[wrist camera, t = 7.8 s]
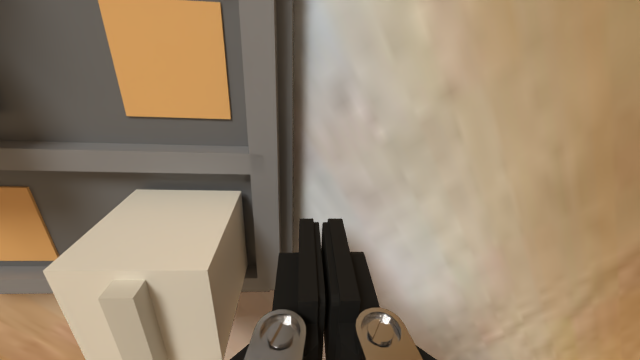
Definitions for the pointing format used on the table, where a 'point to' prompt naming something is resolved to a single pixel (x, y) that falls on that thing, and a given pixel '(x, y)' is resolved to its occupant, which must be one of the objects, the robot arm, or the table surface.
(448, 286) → the table surface
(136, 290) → the cream block
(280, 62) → the switch bank
